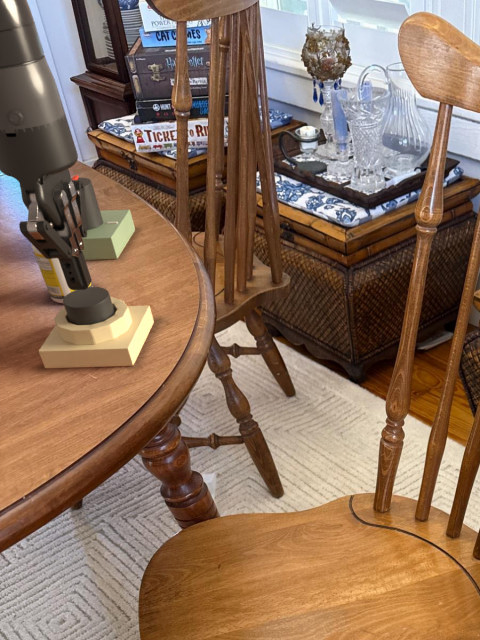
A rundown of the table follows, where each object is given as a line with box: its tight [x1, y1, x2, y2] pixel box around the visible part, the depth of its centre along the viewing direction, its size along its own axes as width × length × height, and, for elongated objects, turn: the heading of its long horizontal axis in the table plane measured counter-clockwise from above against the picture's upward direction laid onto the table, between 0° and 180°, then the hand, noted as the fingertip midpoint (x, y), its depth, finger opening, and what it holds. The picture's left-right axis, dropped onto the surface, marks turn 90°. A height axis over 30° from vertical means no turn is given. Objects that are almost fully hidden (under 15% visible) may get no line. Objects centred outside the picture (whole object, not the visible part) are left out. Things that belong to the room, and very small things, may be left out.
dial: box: [71, 174, 103, 230], centre depth 108 cm, size 5×5×6 cm
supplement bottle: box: [31, 243, 94, 304], centre depth 97 cm, size 5×5×10 cm
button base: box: [38, 296, 155, 369], centre depth 90 cm, size 10×10×4 cm
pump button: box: [62, 286, 115, 325], centre depth 88 cm, size 5×5×2 cm
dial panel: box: [81, 209, 136, 261], centre depth 111 cm, size 10×10×3 cm
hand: (80, 286), depth 86 cm, fingers closed
